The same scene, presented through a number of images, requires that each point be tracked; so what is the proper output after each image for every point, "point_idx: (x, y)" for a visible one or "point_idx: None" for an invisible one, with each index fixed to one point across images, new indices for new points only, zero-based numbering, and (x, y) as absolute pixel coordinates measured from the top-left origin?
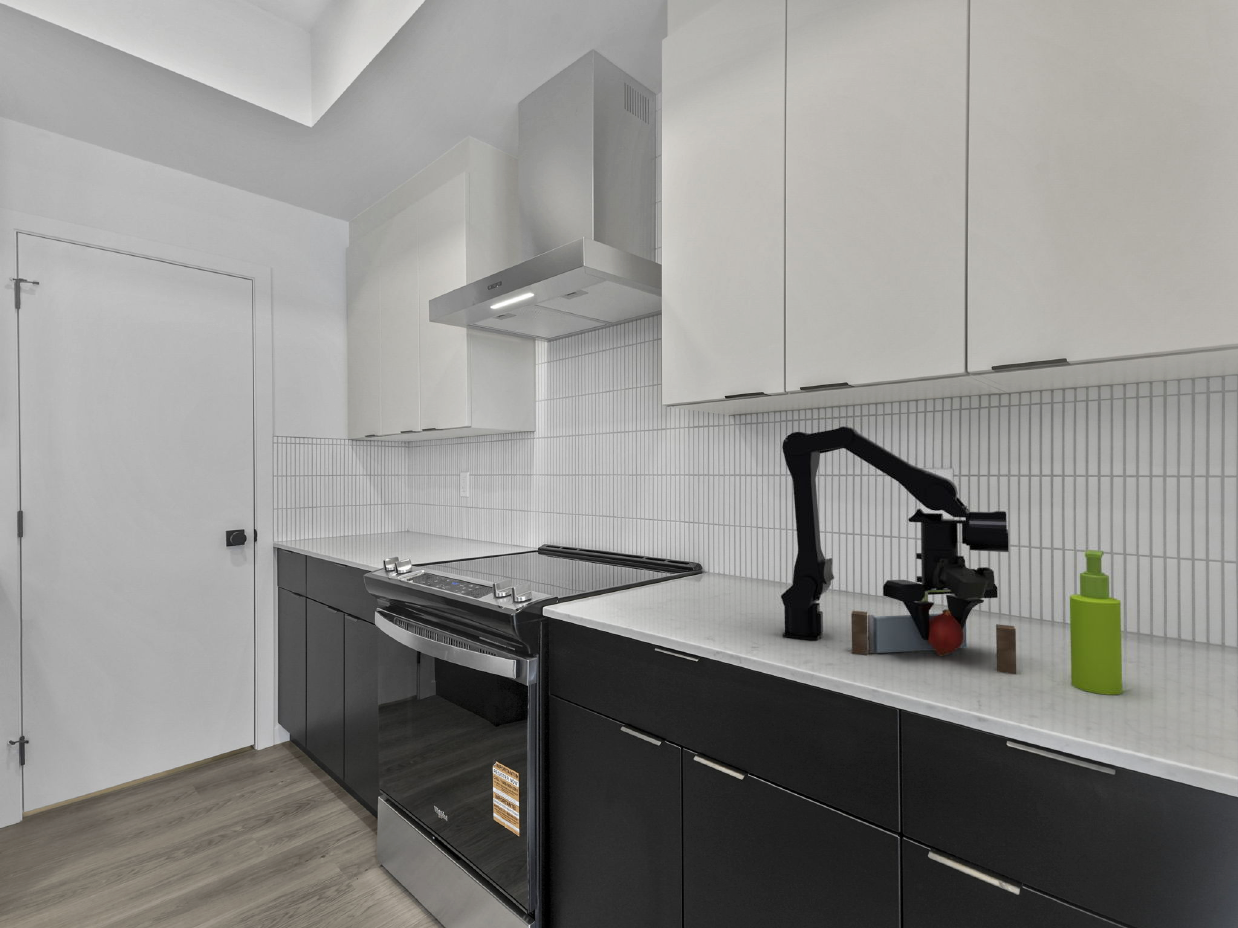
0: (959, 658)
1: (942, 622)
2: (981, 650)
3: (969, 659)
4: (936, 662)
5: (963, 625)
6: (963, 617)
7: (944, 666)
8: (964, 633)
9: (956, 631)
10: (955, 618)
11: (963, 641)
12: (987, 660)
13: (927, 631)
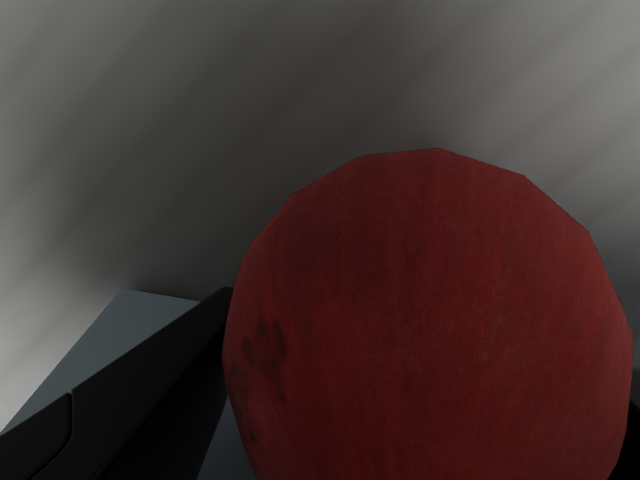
0: (330, 157)
1: (596, 405)
2: (46, 234)
3: (279, 112)
4: (576, 145)
5: (145, 349)
6: (102, 432)
7: (627, 41)
8: (84, 356)
9: (454, 207)
10: (167, 476)
11: (125, 317)
12: (162, 41)
13: (632, 385)
